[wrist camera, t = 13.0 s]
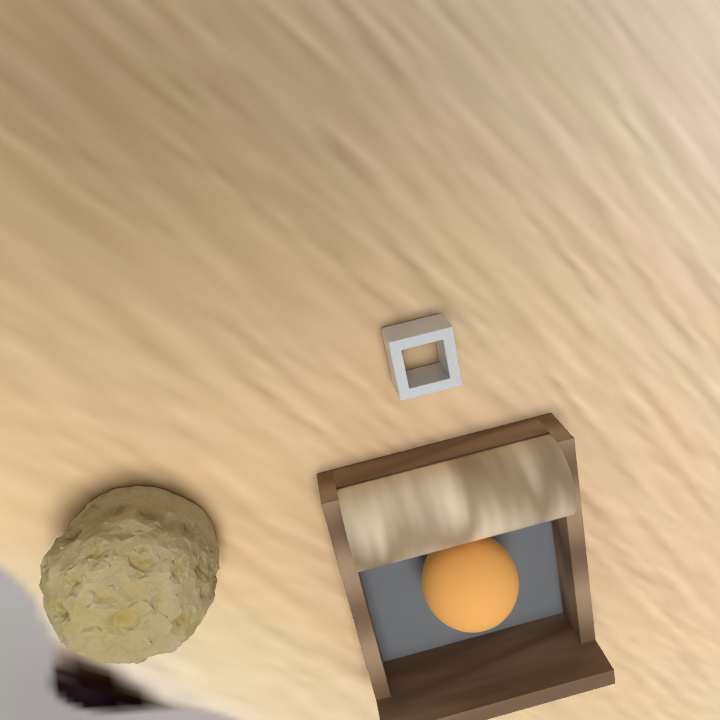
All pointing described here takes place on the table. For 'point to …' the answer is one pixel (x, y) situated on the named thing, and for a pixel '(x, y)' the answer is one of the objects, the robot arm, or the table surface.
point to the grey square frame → (426, 376)
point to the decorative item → (131, 575)
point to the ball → (471, 585)
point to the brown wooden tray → (460, 526)
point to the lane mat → (418, 623)
